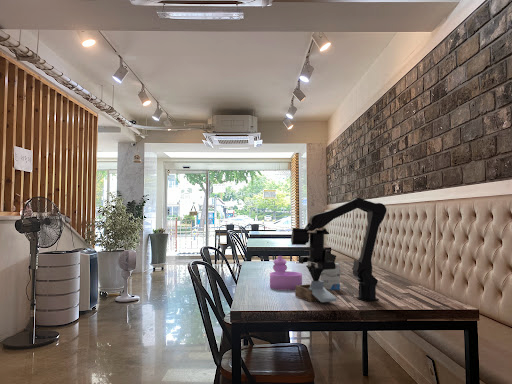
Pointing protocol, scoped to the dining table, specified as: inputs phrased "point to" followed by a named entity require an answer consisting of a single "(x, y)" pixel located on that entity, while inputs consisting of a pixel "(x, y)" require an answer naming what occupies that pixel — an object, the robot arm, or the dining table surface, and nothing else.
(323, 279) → the ink box
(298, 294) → the case
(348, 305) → the dining table surface
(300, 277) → the container set
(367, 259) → the robot arm
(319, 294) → the lid
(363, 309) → the dining table surface
